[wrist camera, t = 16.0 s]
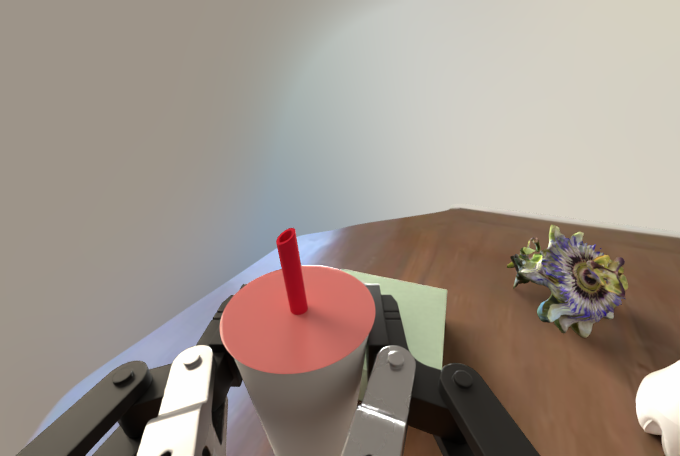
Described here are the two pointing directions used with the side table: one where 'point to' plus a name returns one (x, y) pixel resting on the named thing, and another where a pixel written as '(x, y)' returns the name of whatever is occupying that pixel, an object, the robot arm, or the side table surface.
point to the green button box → (414, 318)
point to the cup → (301, 350)
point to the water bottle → (661, 406)
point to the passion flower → (572, 281)
